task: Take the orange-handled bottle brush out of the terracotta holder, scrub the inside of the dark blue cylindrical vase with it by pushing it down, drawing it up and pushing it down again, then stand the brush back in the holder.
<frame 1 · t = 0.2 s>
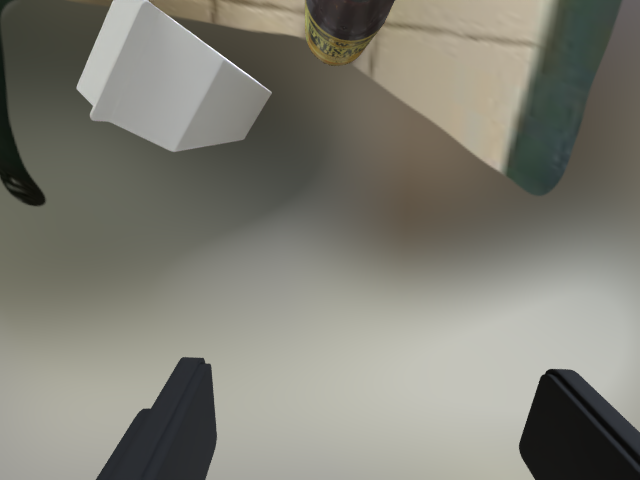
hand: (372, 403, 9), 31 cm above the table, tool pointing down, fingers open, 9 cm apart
sauce bottle: (337, 35, 34), on the table
milk: (234, 100, 36), on the table
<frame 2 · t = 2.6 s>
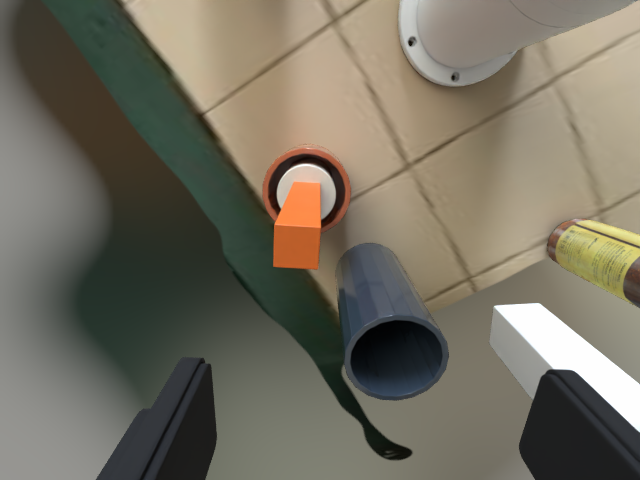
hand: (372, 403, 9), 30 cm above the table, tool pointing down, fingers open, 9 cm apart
dark blue cylindrical vase: (368, 273, 41), on the table
sauce bottle: (570, 239, 40), on the table
brush: (308, 182, 37), point 1 cm above the table, touching brush holder
brush holder: (308, 181, 37), on the table
milk: (512, 322, 44), on the table
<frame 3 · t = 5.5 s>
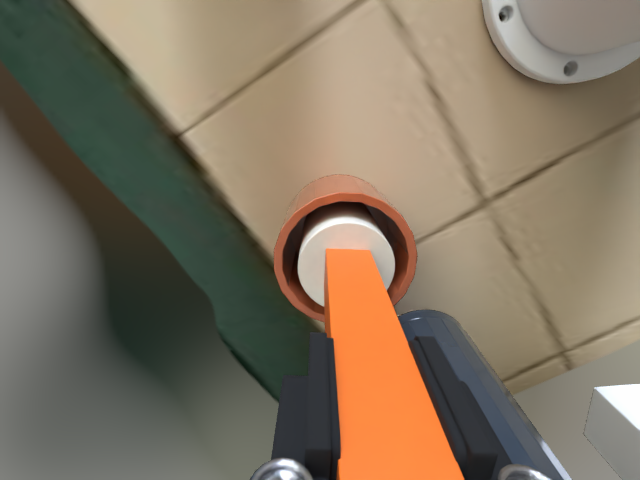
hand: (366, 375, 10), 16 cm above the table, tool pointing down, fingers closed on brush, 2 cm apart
dark blue cylindrical vase: (420, 349, 29), on the table
brush: (339, 230, 25), point 1 cm above the table, touching brush holder, gripper
brush holder: (338, 227, 26), on the table
milk: (617, 407, 32), on the table
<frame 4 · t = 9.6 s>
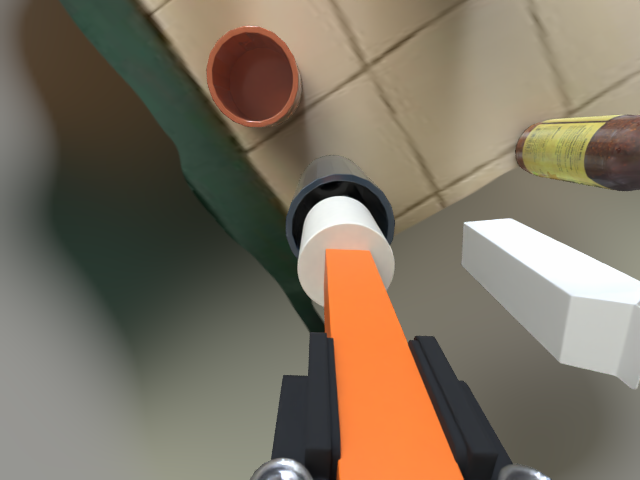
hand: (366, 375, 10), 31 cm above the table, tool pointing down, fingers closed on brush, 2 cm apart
dark blue cylindrical vase: (332, 189, 40), on the table
sauce bottle: (539, 146, 38), on the table
brush: (338, 231, 25), point 16 cm above the table, touching gripper
brush holder: (264, 87, 36), on the table
milk: (484, 241, 42), on the table
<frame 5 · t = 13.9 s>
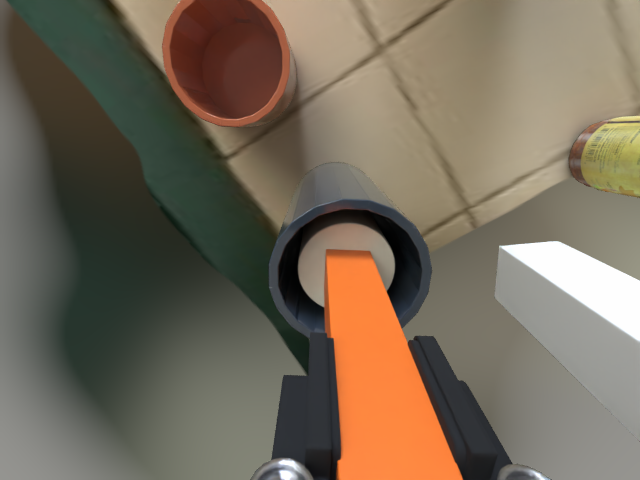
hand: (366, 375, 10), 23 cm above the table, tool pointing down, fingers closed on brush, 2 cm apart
dark blue cylindrical vase: (335, 205, 32), on the table
sauce bottle: (599, 151, 30), on the table
brush: (339, 231, 25), point 7 cm above the table, touching gripper
brush holder: (248, 75, 28), on the table
milk: (523, 269, 34), on the table
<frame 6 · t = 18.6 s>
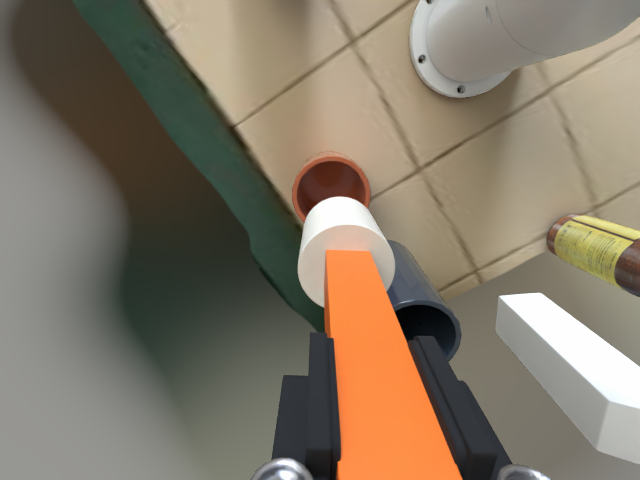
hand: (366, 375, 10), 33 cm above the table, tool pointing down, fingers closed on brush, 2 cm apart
dark blue cylindrical vase: (383, 268, 45), on the table
sauce bottle: (567, 233, 44), on the table
brush: (339, 231, 25), point 18 cm above the table, touching gripper
brush holder: (329, 185, 41), on the table
milk: (516, 311, 47), on the table
when the fingers open (16 cm above the table, at t = 22.5 s): brush stays where it is, resting on brush holder.
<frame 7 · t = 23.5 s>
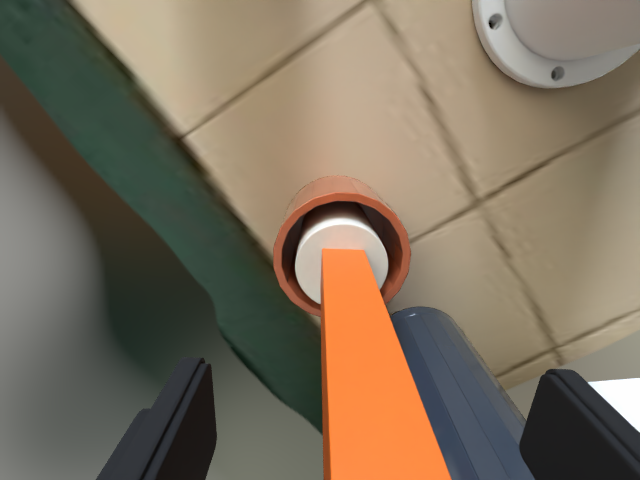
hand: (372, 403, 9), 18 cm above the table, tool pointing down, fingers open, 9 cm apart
dark blue cylindrical vase: (416, 345, 30), on the table
brush: (335, 231, 26), point 1 cm above the table, touching brush holder
brush holder: (335, 227, 26), on the table
milk: (608, 401, 33), on the table
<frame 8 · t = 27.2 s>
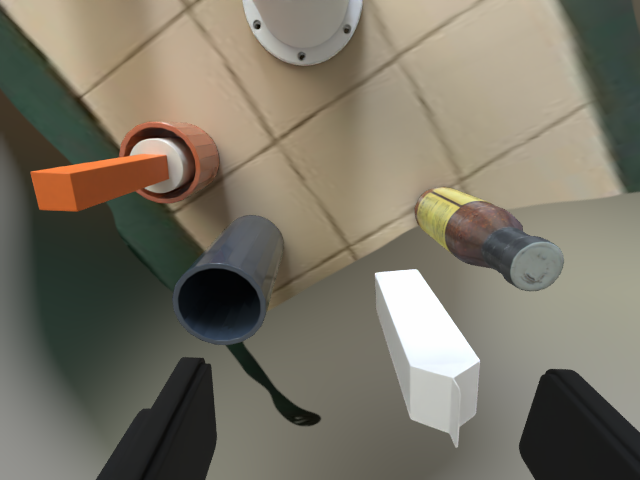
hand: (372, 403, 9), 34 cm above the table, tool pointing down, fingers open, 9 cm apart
dark blue cylindrical vase: (253, 244, 44), on the table
sauce bottle: (437, 207, 43), on the table
brush: (183, 159, 40), point 1 cm above the table, touching brush holder
brush holder: (185, 158, 40), on the table
milk: (395, 289, 47), on the table
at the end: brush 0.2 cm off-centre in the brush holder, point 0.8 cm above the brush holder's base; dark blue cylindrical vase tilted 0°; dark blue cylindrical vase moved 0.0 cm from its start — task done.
